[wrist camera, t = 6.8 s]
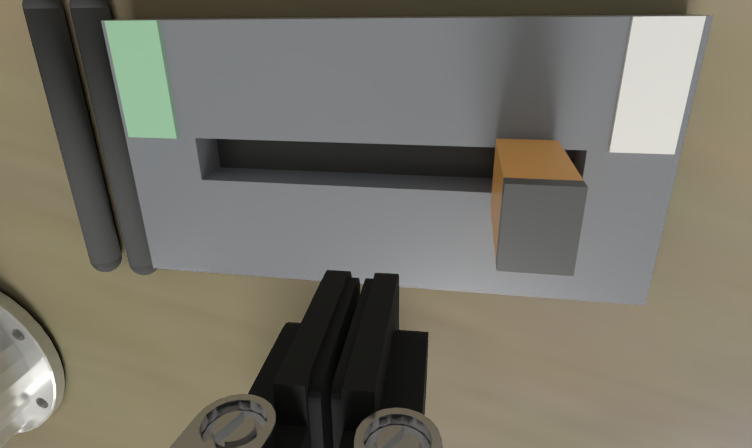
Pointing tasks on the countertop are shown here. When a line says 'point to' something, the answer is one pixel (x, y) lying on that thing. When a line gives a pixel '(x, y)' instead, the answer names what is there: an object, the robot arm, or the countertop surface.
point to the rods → (89, 129)
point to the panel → (400, 141)
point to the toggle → (536, 207)
